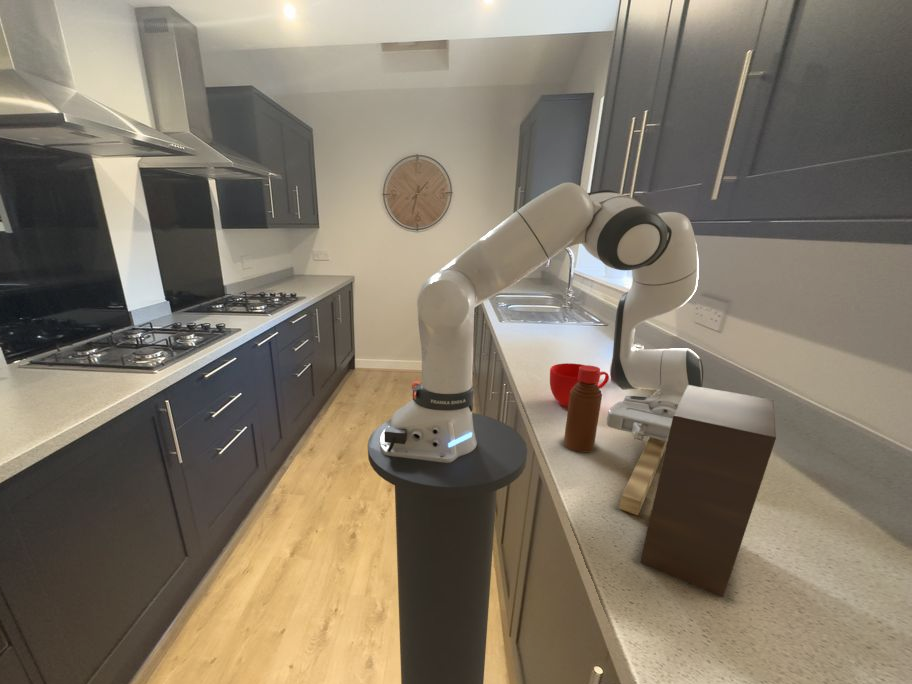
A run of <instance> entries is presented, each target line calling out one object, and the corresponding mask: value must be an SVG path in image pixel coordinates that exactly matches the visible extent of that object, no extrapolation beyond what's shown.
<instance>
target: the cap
mask: <svg viewBox="0 0 912 684" xmlns="http://www.w3.org/2000/svg"><path fill="white" fill-rule="evenodd" d="M582 365H583V366H580V367H579V372H578V380H579V381H580V382H583V383H590V384H592V383H597V382H598V380H599V374H600V372H601V369H600V367H598V366H595V365H589V364H587V365H586V364H582ZM599 381H600V380H599Z"/></svg>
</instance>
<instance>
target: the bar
mask: <svg viewBox="0 0 912 684" xmlns="http://www.w3.org/2000/svg"><path fill="white" fill-rule="evenodd" d="M648 438H649V439H648V440H647V442H646V444H645V447H644V449H643V451H642V452H641V455H640V457H639V459H638V460H637V463H636V465H635V466H634V469H633V471H632V473H631V475H630V477H629V479H628V481H627V484H626V485H625V488H624V489H623V492H622V493H621V496H620V502H619V508H618V509H619V510H621V511H624V512H627V513H630V514H632V515H635V516H639V514H640V512H641V509H642V507H643V505H644V502H645V499H646V497H647V495H648V492H649V489H650V487H651V485H652V482H653V480H654V477H655V475H656V473H657V470H658V468H659V465H660V463H661V460H662V458H663V456H664V454H665V450H666V447H665V444H666V441H663V440H659V439H655V438H651V437H648Z"/></svg>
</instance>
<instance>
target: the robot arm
mask: <svg viewBox="0 0 912 684" xmlns="http://www.w3.org/2000/svg"><path fill="white" fill-rule="evenodd" d="M576 245H582V246H583V247H584V249H585V250H586V251H587V252H588V253H589V254H590V255H591V256H593V257H594V258H595V259H597V260H599V261H601V262H602V263H603V264H604V265H605V266H607V267H608V268H611V269H614V270H619V271H631V279H632V283H631V287H630V289H629V290H628V291H627V292H625V293H623V294H622V295H621V297H620V298H619V301H618V304H617V308H616V314H615V322H614V331H613V332H614V334H613V347H612V358H611V362H610V366H609V377H610V380H611V382H612V383H613V384H615V386H616V387H618V388H620V389H621V390H625V391H626V390H655V392H654V393H653V395H649V396H643V395H642V396H641V395H625V396H624V398H623V400H622V401H621V400H620V401H618V402H616V403H615V404H614V405H613V406H611V407H610V408H609V410H608V413H607V415H606V422H605V424H606V426H607V427H608V428H611V429H616V430H619V431H623V432H627V433H631V434H633V436H634V438H633V439H634V440H638V441H641V442H642V441H643V440H644V439H645V437H648V438H650V437H651V438H655V439H659V440H663V441H666V444H665V448H666V446H667V441H668V437H669V432H670V428H671V424H672V419H673V415H674V413H675V411H676V409H677V407H678V405H679V403H680V400H681V398H682V396H683V394H684V392H685V390H686V388H687V385H691V386H697V387H703V382H704V366H703V361H702V359H701V358H700V356H699V355H697V353H696V352H694V351H693V349H690V348H644V349H638V348H635V347H634V346H633V344H634V343H635V335H636V327H637V326H639V325H641V324H642V323H644V322H646V321H649V320H652V319H654V318H657V317H661V316H664V315H668V314H670V313H672V312H674V311H676V310H677V309H679V308H681V307H683V306H684V305H685V304H686V303H687V302H689V300H691V298H692V297H693V295H694V294H695V292H696V291H697V288H698V282H699V281H698V280H699V271H700V270H699V269H700V268H699V266H700V265H699V254H698V245H697V241H696V236H695V232H694V228H693V225H692V222H691V220H690V219H689V218H688V217H687V216H686V215H685V214H683V213H680V212H676V211H665V212H658V213H657V212H656V211H655V210H654V209H652V208H650V207H647V206H645V205H643V204H641V203H640V202H639V201H638V200H637V199H635V198H633V197H632V196H629V195H625V194H623V193H619V192H617V191H616V190H615V191H614V190H611V189H599V190H595V191H590V192H588V191H586V189H584V187H582V186H581V185H579V184H577V183H575V182H568V181H567V182H562V183H560V184H558V185H556V186H554V187H552V188H550V189H548V190H546V191H545V192H543V193H541V194H539V195H538V196H536V197H535V198H533V199H532V200H530V201H529V202H527V203H525V204H524V205H523V206H522V207H520V208H519V209H517V210H516V211H515V212H513V213H512V214H511V215H510V216H508V217H507V218H506V219H504V220H503V221H502V222H501V223H499V224H498V225H496V226H495V227H493V228H492V229H491V230H490V231H489V232H487V233H486V234H484V235H483V236H482V237H481V238H479V239H478V240H477V241H475V242H474V243H473V244H472V245H470V246H468V247H467V248H466V249H464V251H462V252H460V254H458V255H457V256H455V257H453V259H451V261H449V262H448V263H446V264H445V265H444V266H442V267H441V268H440V269H439V270H437V271H436V272H434V273H433V274H432V275H431V276H430V277H428V278H427V279H426V280H425V281H424V282H423V283H422V285H421V286H420V288H419V290H418V293H417V299H416V307H417V322H418V323H417V324H418V331H419V333H418V334H419V340H420V346H421V347H420V348H421V350H420V351H421V382H420V381H419V380H414V381H413V382H411V389H412V400H410V401H409V402H407V403H405V404H404V405H402V406H401V407H399V408H398V409H397V410H396V411H394V413H393V414H392V417H391V418H390V420H391V422H390V426H389V427H387V428H386V429H385V430H384V431H383V433H382V435H381V438H380V449H381V451H382V453H383V454H384V455H387V456H395V457H403V458H411V459H419V460H427V461H435V462H443V463H450V462H452V461H454V460H455V459H456V458H457V457H459V456H462V455H465V454H467V453H469V452H471V451H473V450H474V449H475V447H476V446H477V440H476V437H475V433H474V427H473V419H472V413H473V410H474V406H475V405H474V404H475V388H474V384H473V370H474V369H473V368H474V330H475V329H474V328H475V308H476V307H478V306H479V305H481V304H482V303H484V302H486V301H488V300H489V299H491V298H493V297H494V296H496V295H498V294H499V293H501V292H503V291H504V290H507V289H508V288H511V287H513V286H514V285H515V284H517V283H518V282H519V281H521V280H523V279H524V278H525V277H527V276H529V275H530V274H532V273H533V272H534V271H536V270H538V269H539V268H540V267H541V266H543V265H544V264H546V263H548V262H549V261H550V260H551V259H553V258H554V257H556V256H557V255H558V254H560V253H561V252H562V251H563V250H566V249H567V248H570V247H573V246H576Z"/></svg>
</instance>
